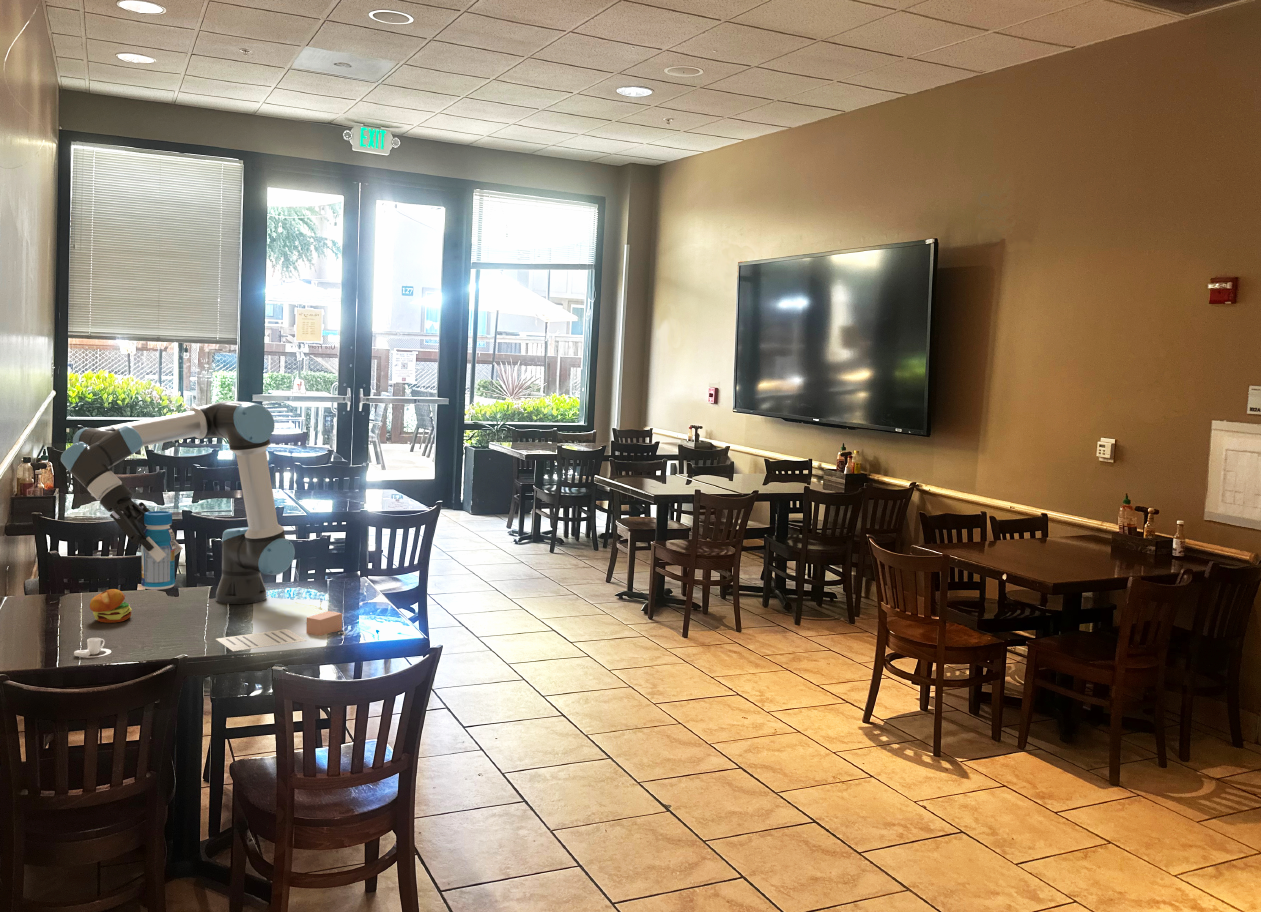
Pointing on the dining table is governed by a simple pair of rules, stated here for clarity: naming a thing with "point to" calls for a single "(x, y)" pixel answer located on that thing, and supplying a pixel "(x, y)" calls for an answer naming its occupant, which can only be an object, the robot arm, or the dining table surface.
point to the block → (324, 623)
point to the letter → (260, 640)
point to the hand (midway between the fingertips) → (170, 555)
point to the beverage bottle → (163, 536)
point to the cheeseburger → (110, 607)
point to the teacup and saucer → (92, 648)
